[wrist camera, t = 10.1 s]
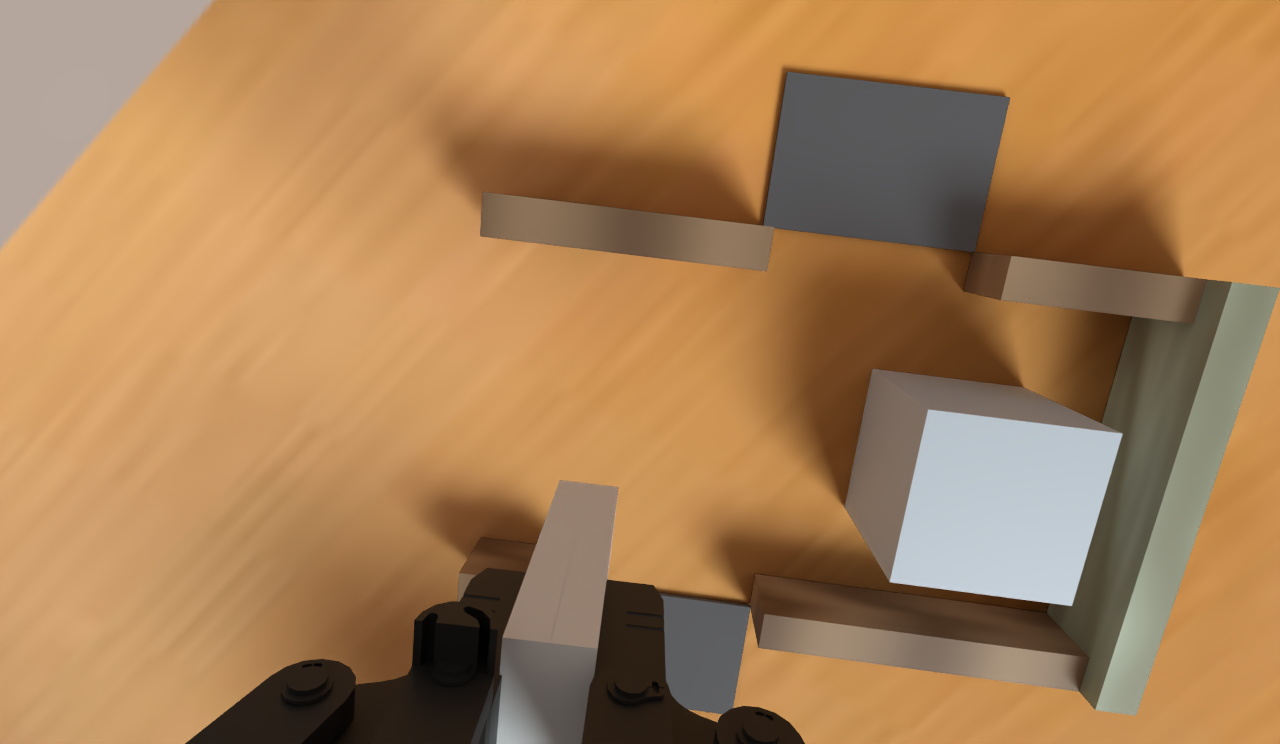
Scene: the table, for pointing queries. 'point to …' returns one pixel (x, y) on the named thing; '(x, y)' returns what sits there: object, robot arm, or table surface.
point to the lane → (1133, 502)
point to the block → (978, 486)
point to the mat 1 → (703, 650)
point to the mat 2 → (883, 161)
